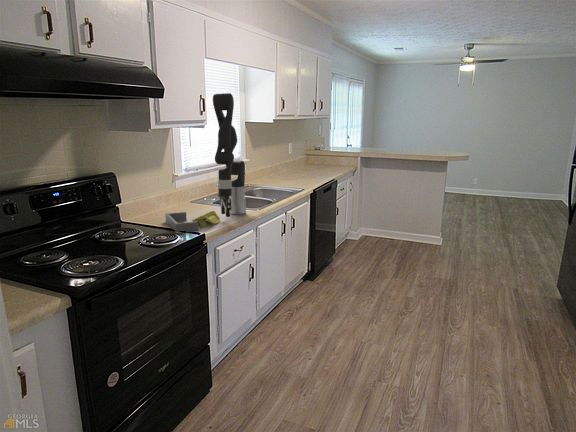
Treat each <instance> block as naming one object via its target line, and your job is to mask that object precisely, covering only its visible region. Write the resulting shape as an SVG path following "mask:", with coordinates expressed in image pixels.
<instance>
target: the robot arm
mask: <svg viewBox="0 0 576 432" xmlns="http://www.w3.org/2000/svg"><path fill="white" fill-rule="evenodd" d="M234 101H235V100H234V96H233V94H232V93H230V92H229V93H228V92H225V93H215V94H213V95H212V104H213V105H212V106H213V108H214V109H213V110H214V112H215V113H214V114H215V117H216V120H217V123H218V132H217V147H216V152H215V155H214V161H215V163H216V164H217V165H225V167H224V168H220V169H218V181H217V182H218V183H217V185H218V187H217V189H218V190H217V193H218V196H219V206H220V211H221V212H220V213H221V214H222V215H225V217H226V218H230V217H231V214H232V215H243V214H247V199H246V197H245V195H246V194H245V181H246V178H245V176H246V175H245V174H246V163H245V162H244V160H236V159H235V155H234V153H233V152H234V150H235V148H236V146H237V144H238V136H237V132H236V131H237V130H236V129H235V126H233V116H234V115H233V114H234V108H235V107H234V106H235V104H234V103H235V102H234ZM224 111H226V115H225V114H224ZM232 176H237V178H236V179H233V180H232Z"/></svg>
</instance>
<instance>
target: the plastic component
mask: <svg viewBox="0 0 576 432" xmlns="http://www.w3.org/2000/svg"><path fill="white" fill-rule="evenodd" d="M196 221H197V222H198V225H199V226H200V228H203V227H205V226H207V225H208V224H207V222H209V223H211V224H212V225H217V224H218V223H220V222H221V219H220V216H219V215H218V213H216V211H215V210H212V211H209V212H207V213H205V214H203V215H200V216H199V217H196V218H194V219H192V220H191V222H196ZM206 221H207V222H206Z"/></svg>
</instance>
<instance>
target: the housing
mask: <svg viewBox="0 0 576 432" xmlns="http://www.w3.org/2000/svg"><path fill="white" fill-rule="evenodd" d="M164 215H165V223H166V224H167V226H169V228H170V229H171V230H172V229H173V230H175V231H176V232H179V231H186V232H185V233H192V232H198V231H199V224H198V222H197V221H196V222H193V221H188V222H187V220H188V219H187V212H186V211H183V212H181V211H180V212H170V213H167V212H166V213H165V214H164ZM185 221H186V222H185ZM178 222H179V223H178ZM173 230H172V231H173Z"/></svg>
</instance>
